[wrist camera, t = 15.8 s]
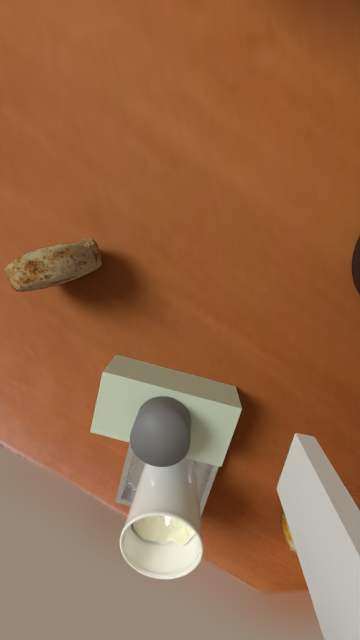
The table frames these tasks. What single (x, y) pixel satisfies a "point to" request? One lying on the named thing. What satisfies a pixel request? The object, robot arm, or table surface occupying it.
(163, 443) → the push-button box
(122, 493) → the gray square tray
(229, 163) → the table surface
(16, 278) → the stone disc
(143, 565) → the candle holder
